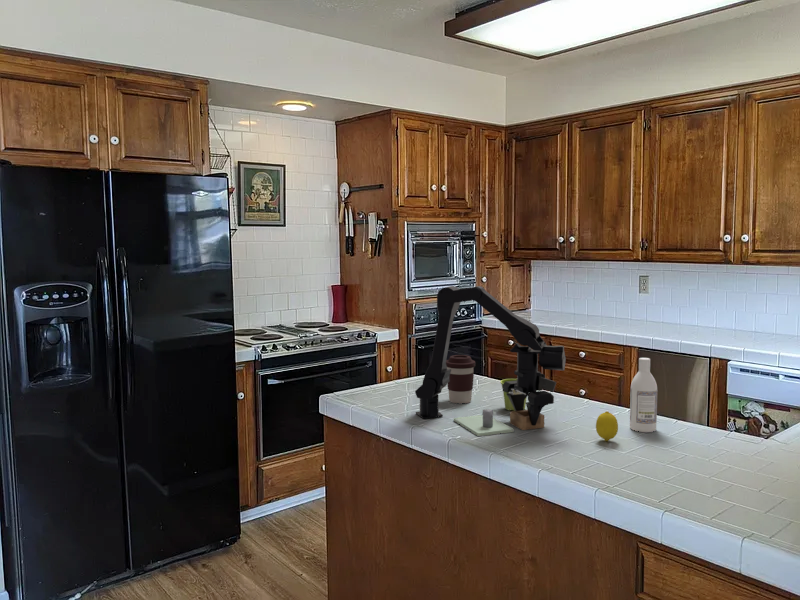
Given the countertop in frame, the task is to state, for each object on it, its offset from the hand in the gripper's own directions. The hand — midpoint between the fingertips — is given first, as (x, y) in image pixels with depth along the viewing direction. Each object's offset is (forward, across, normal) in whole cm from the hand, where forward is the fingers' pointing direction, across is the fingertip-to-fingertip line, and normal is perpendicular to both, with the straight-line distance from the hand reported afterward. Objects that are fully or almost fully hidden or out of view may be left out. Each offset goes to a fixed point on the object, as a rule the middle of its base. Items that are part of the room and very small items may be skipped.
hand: (526, 421), depth 182 cm
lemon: (+1, -20, -12) cm, 23 cm away
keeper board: (+1, +4, +12) cm, 13 cm away
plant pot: (+1, +17, -6) cm, 18 cm away
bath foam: (+1, -15, -28) cm, 32 cm away
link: (+1, 0, 0) cm, 1 cm away
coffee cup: (+1, +32, +6) cm, 33 cm away
